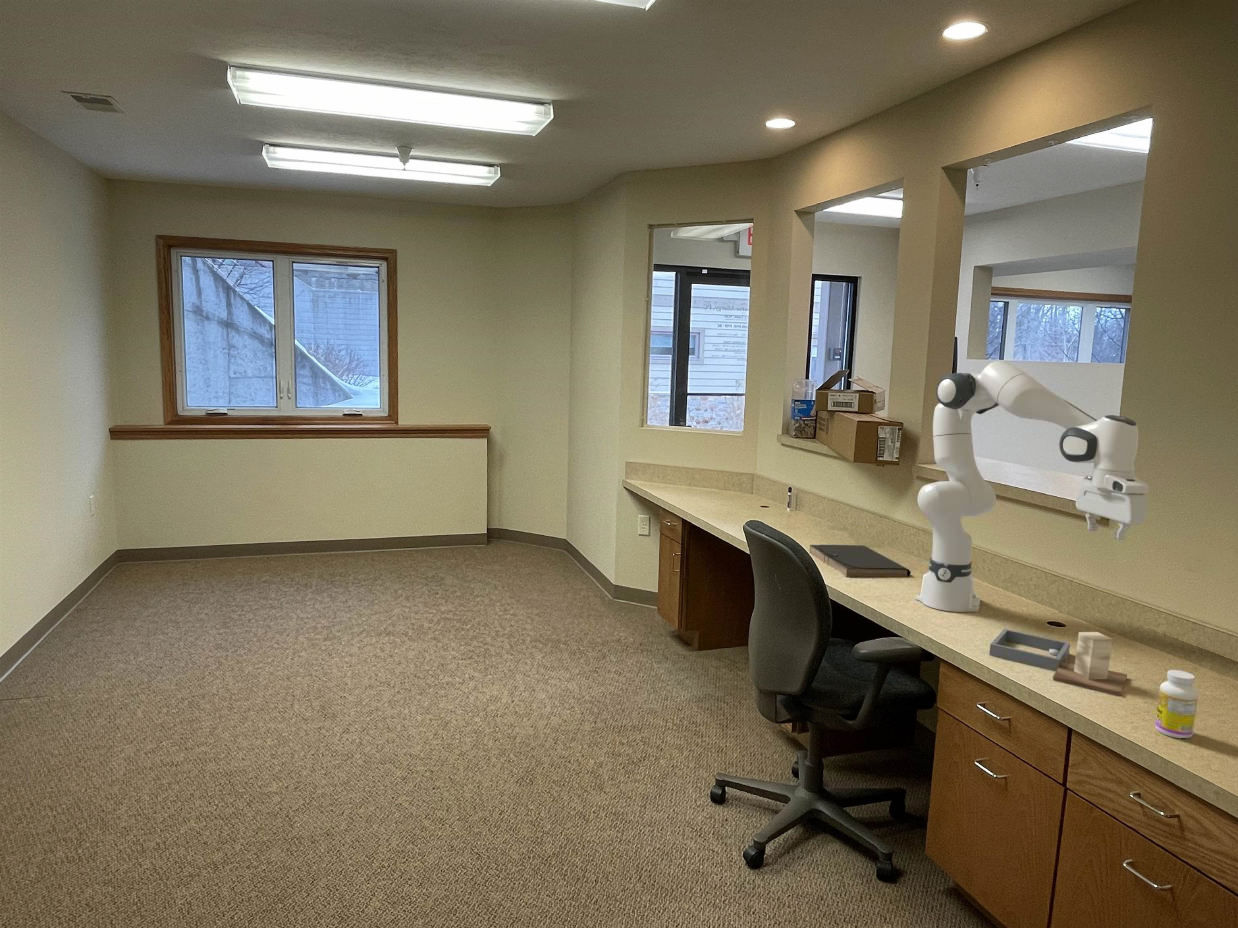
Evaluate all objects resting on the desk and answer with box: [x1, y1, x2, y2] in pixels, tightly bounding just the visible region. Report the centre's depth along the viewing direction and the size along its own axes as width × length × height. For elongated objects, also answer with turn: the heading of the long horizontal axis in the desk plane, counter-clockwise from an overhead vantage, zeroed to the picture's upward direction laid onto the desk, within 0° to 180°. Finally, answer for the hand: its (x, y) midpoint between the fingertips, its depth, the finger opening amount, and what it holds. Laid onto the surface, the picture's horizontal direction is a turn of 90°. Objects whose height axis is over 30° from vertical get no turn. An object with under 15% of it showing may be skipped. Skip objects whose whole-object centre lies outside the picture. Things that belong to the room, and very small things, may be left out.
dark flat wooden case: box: [809, 544, 911, 578], centre depth 301 cm, size 33×4×24 cm
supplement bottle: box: [1154, 669, 1199, 739], centre depth 171 cm, size 7×7×13 cm
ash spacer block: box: [1074, 631, 1113, 680], centre depth 199 cm, size 5×5×10 cm
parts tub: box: [989, 628, 1071, 672], centre depth 214 cm, size 16×16×3 cm
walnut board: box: [1052, 659, 1128, 697], centre depth 199 cm, size 14×14×1 cm
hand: (1105, 534), depth 208 cm, fingers open, 8 cm apart
